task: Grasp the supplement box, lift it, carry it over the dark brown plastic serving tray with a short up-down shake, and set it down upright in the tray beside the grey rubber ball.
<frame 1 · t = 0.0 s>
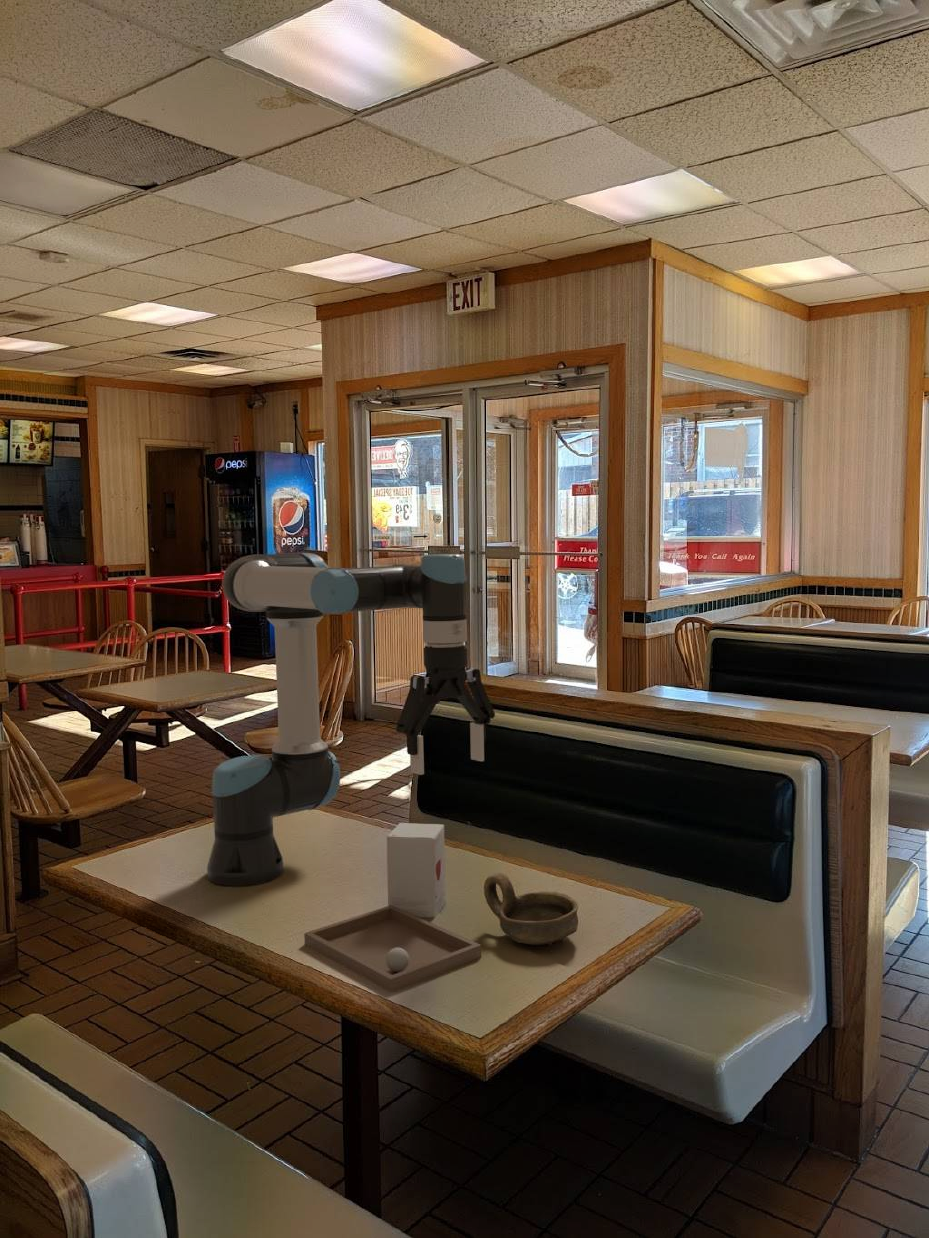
hand: (448, 766, 175), 28 cm above the table, fingers open, 13 cm apart
supplement box: (418, 911, 184), on the table
tray: (391, 953, 165), on the table
ball: (397, 970, 157), point 1 cm above the table, touching tray
bowl: (530, 938, 170), on the table
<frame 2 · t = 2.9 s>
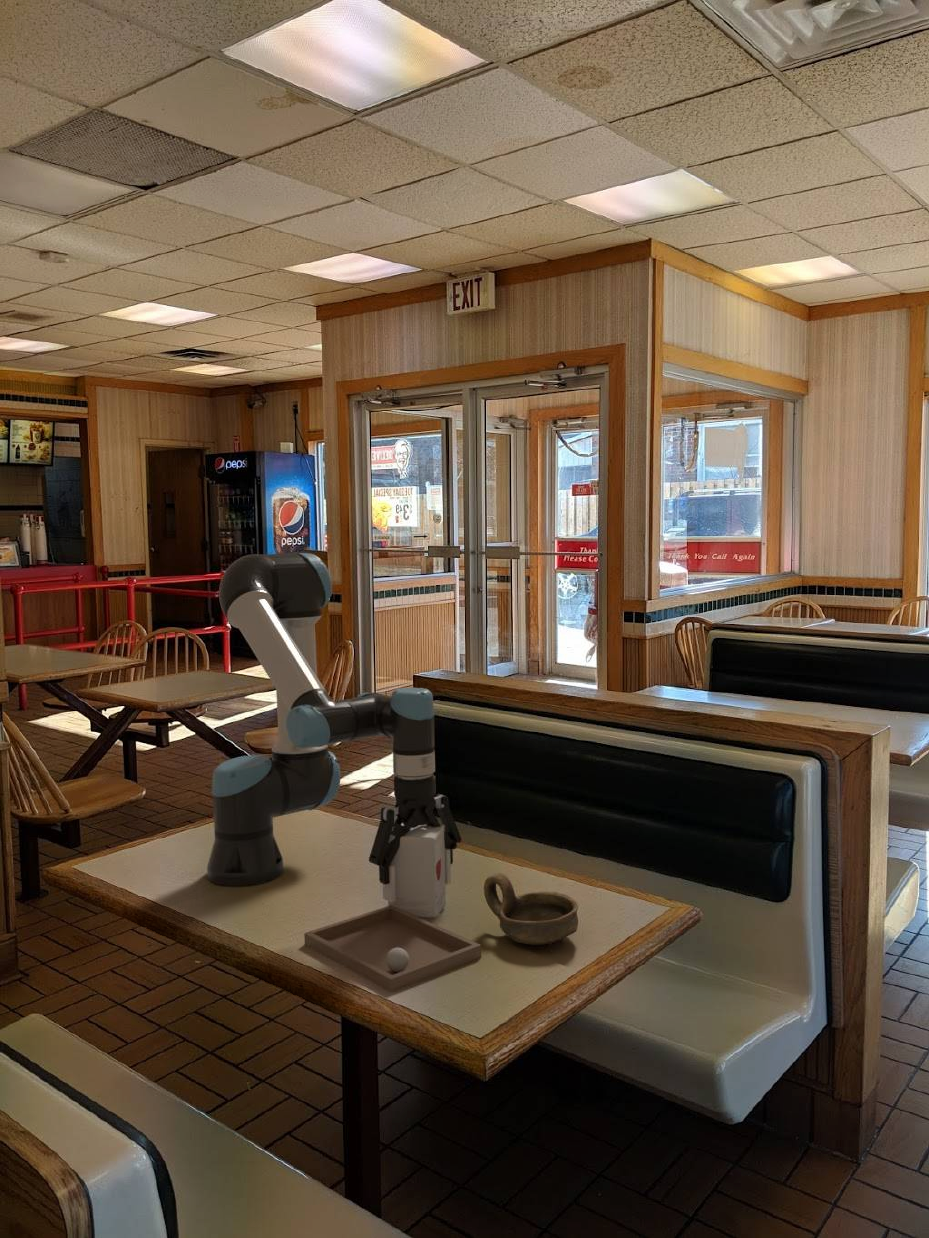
hand: (417, 891, 183), 3 cm above the table, fingers closed on supplement box, 12 cm apart
supplement box: (418, 911, 184), on the table, touching gripper
everything else where it was.
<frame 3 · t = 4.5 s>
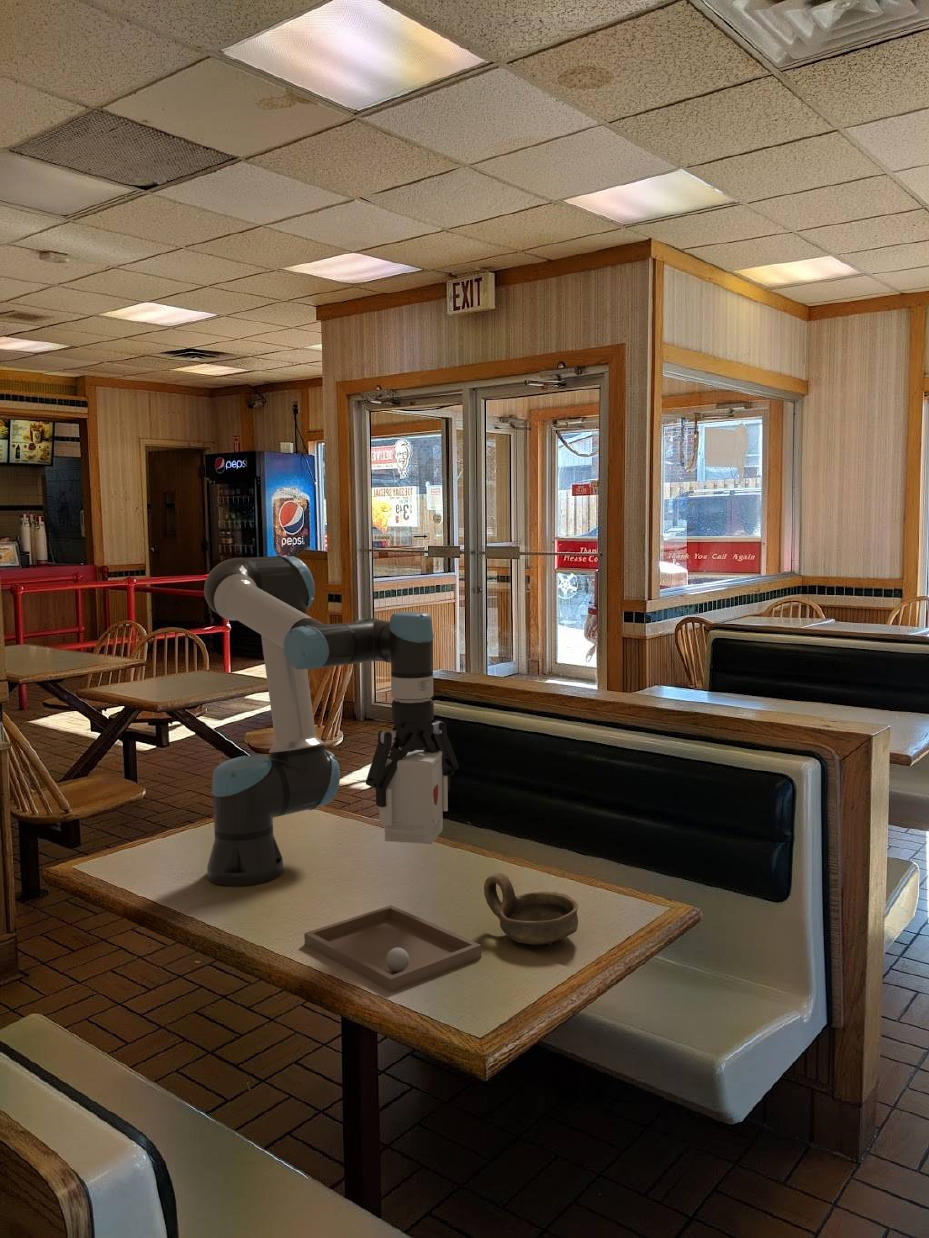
hand: (414, 816, 183), 17 cm above the table, fingers closed on supplement box, 12 cm apart
supplement box: (414, 836, 183), point 14 cm above the table, touching gripper
everything else where it was.
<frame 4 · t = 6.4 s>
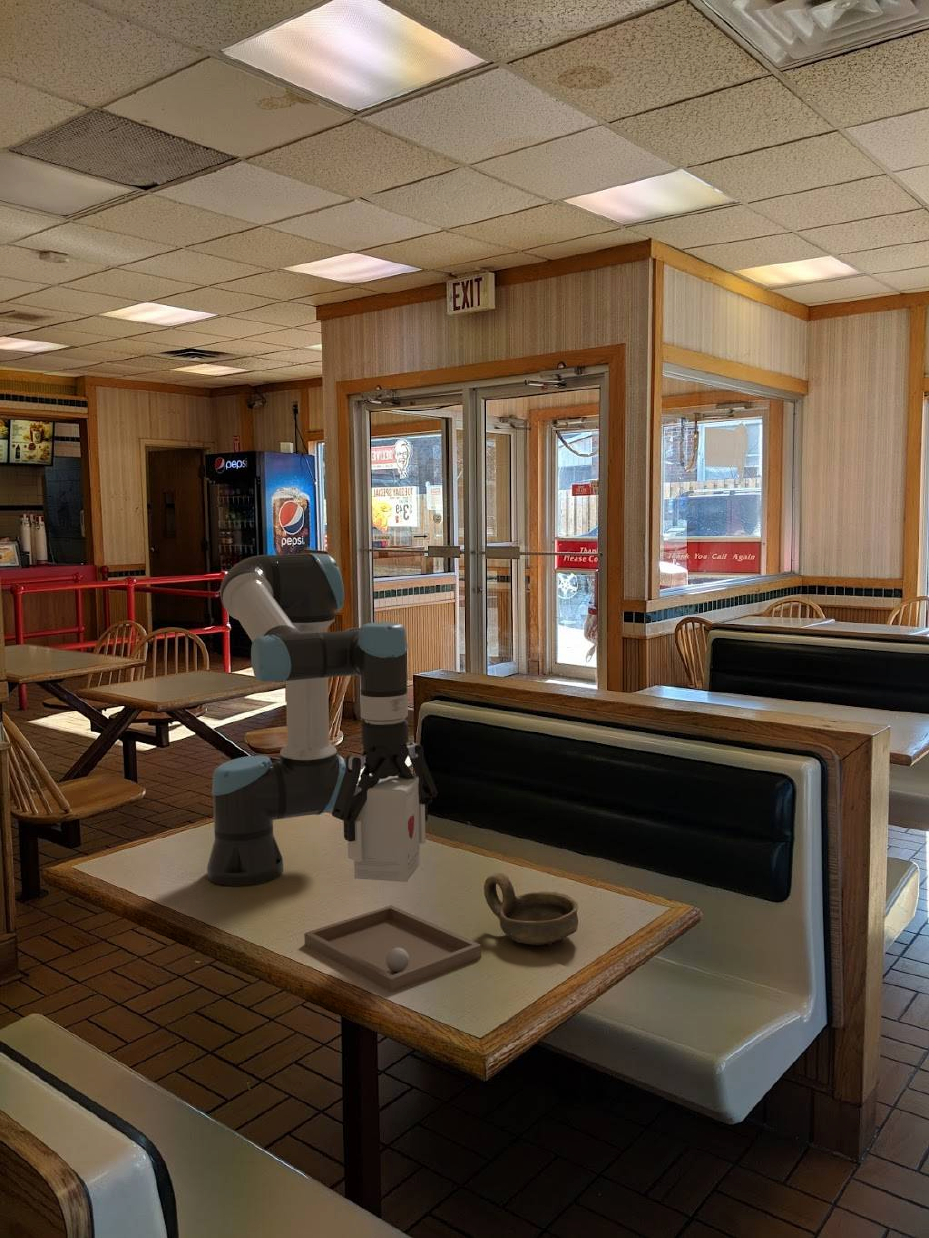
hand: (387, 850, 164), 17 cm above the table, fingers closed on supplement box, 12 cm apart
supplement box: (388, 872, 164), point 13 cm above the table, touching gripper
everything else where it was.
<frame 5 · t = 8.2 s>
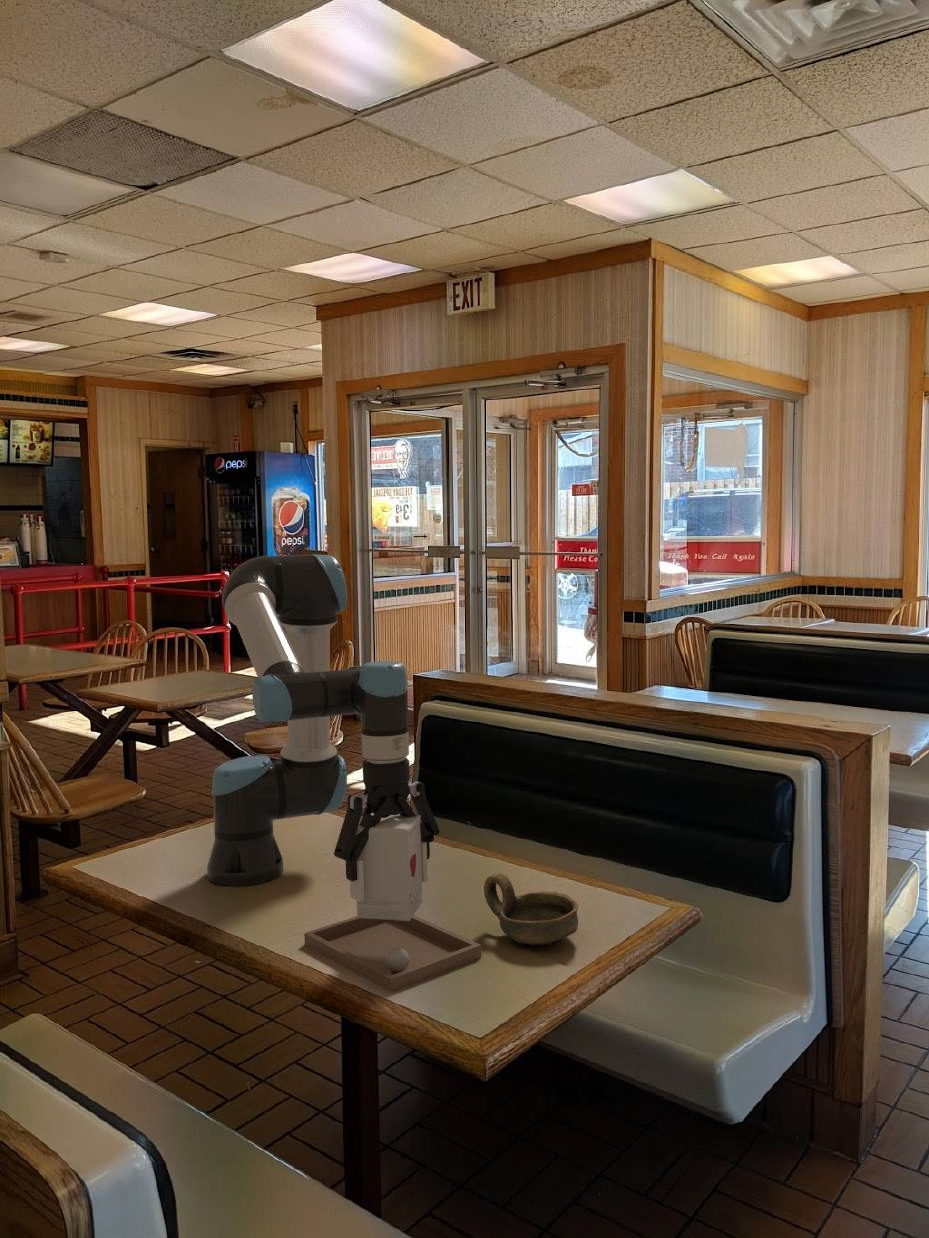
hand: (389, 889, 164), 11 cm above the table, fingers closed on supplement box, 12 cm apart
supplement box: (390, 911, 164), point 7 cm above the table, touching gripper
everything else where it was.
when the fingers open (5 cm above the table, at t = 9.8 s): supplement box drops 1 cm, resting on tray.
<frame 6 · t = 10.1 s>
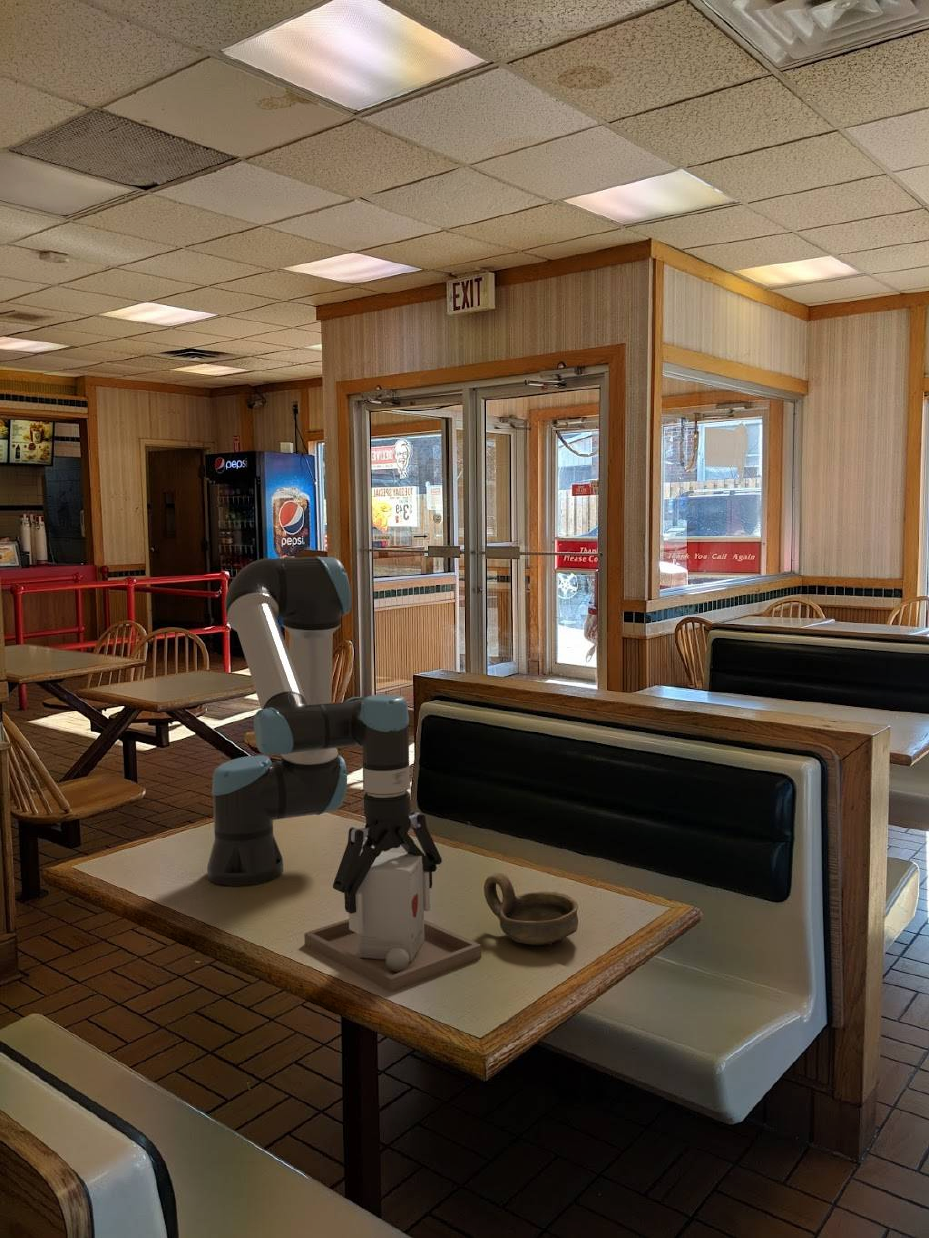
hand: (390, 919, 164), 6 cm above the table, fingers open, 13 cm apart
supplement box: (392, 950, 165), resting on tray
everything else where it was.
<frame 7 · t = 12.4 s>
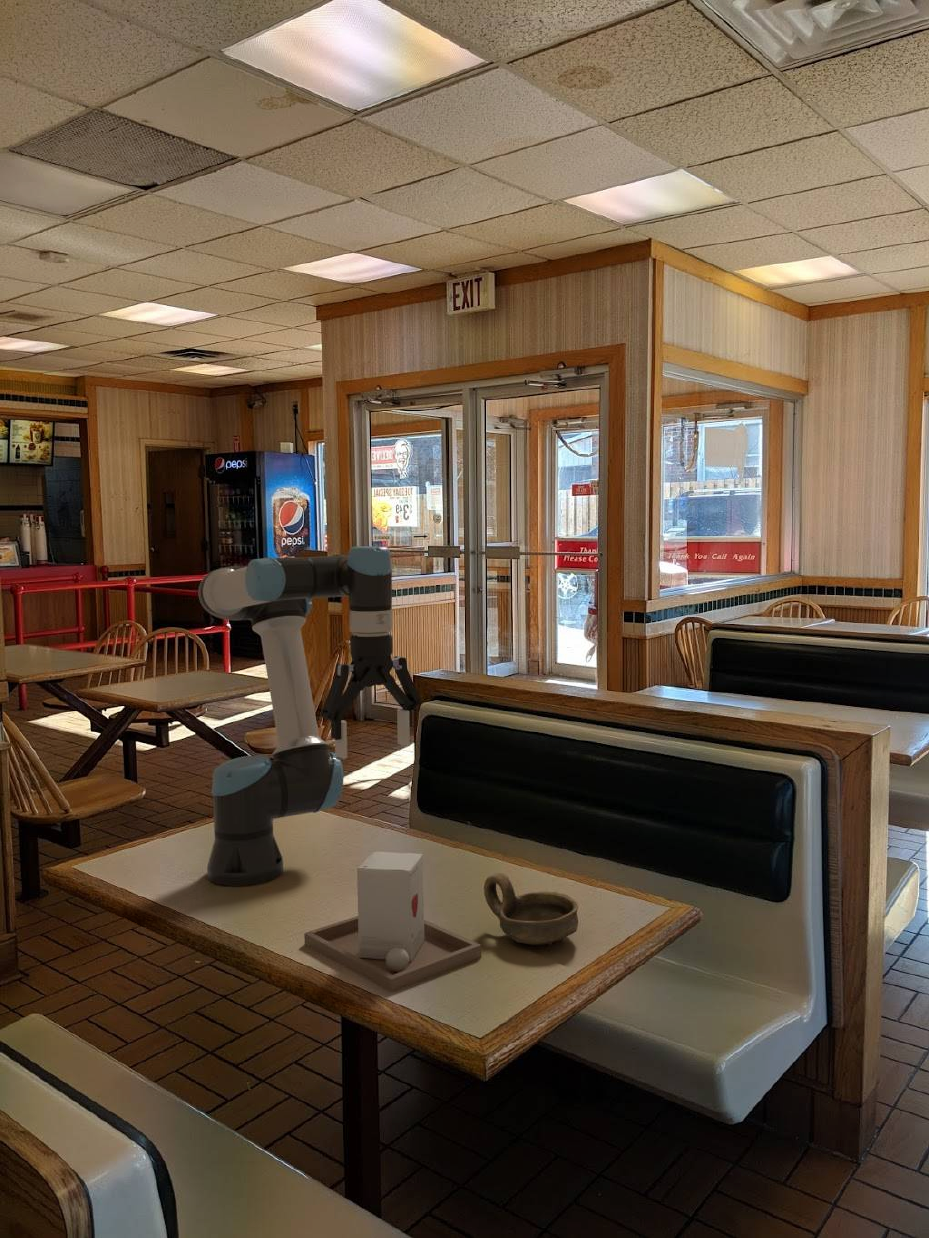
hand: (373, 751, 181), 30 cm above the table, fingers open, 13 cm apart
nothing on the table moved.
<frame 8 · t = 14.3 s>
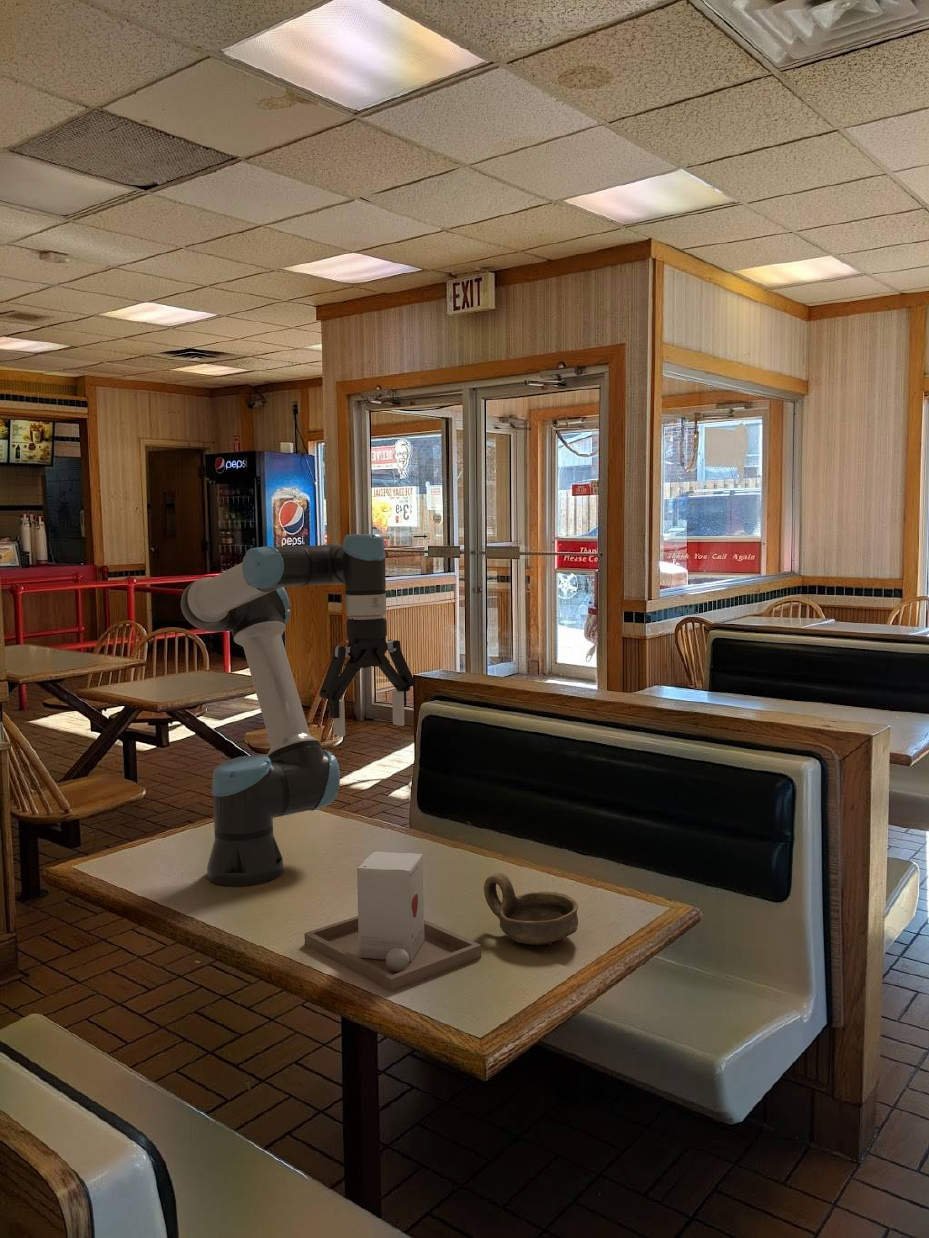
hand: (369, 730, 189), 32 cm above the table, fingers open, 13 cm apart
nothing on the table moved.
at the end: supplement box inside the target area on the tray (0.3 cm from its centre), point 0.4 cm above the tray's base; supplement box tilted 0°; the gripper is holding nothing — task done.
